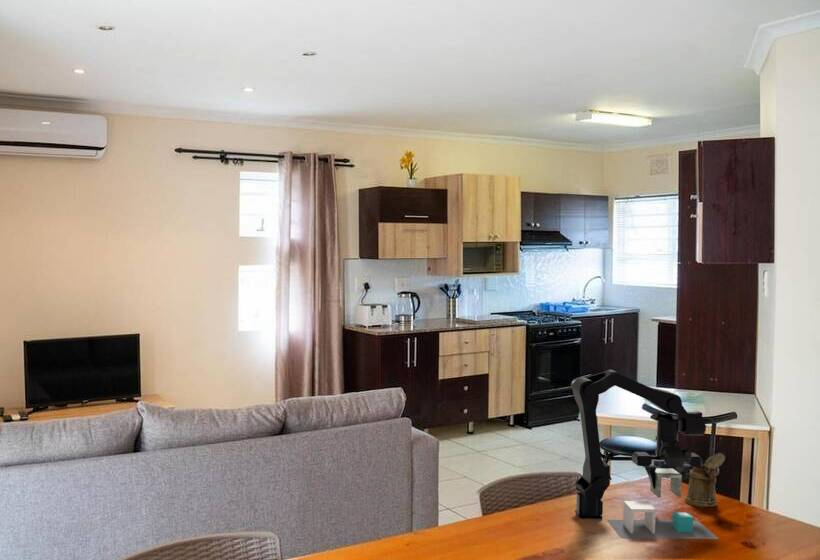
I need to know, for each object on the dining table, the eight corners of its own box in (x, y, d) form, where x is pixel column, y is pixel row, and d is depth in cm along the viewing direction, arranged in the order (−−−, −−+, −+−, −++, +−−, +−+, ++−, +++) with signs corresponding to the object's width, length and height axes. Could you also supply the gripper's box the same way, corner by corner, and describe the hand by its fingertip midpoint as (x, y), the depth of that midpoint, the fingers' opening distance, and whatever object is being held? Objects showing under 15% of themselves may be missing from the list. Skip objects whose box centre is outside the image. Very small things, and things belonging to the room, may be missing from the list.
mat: (621, 539, 199) (621, 538, 199) (606, 520, 213) (606, 519, 213) (718, 540, 200) (718, 538, 200) (697, 521, 214) (697, 520, 214)
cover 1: (630, 533, 203) (631, 509, 203) (623, 524, 210) (623, 501, 210) (654, 533, 203) (655, 509, 203) (646, 524, 210) (647, 501, 210)
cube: (678, 531, 205) (678, 516, 205) (672, 526, 209) (672, 511, 209) (692, 531, 205) (693, 516, 205) (686, 526, 209) (687, 511, 209)
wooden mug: (703, 513, 221) (705, 452, 220) (679, 499, 234) (681, 441, 234) (731, 512, 222) (733, 451, 222) (705, 498, 236) (707, 440, 235)
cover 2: (658, 497, 216) (658, 474, 216) (650, 490, 223) (651, 468, 223) (681, 497, 216) (681, 475, 216) (672, 490, 223) (673, 468, 223)
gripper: (644, 441, 211) (643, 497, 211) (711, 442, 211) (709, 498, 212) (631, 432, 222) (630, 485, 222) (695, 433, 222) (693, 485, 223)
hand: (665, 488), depth 220 cm, fingers closed on cover 2, 7 cm apart
